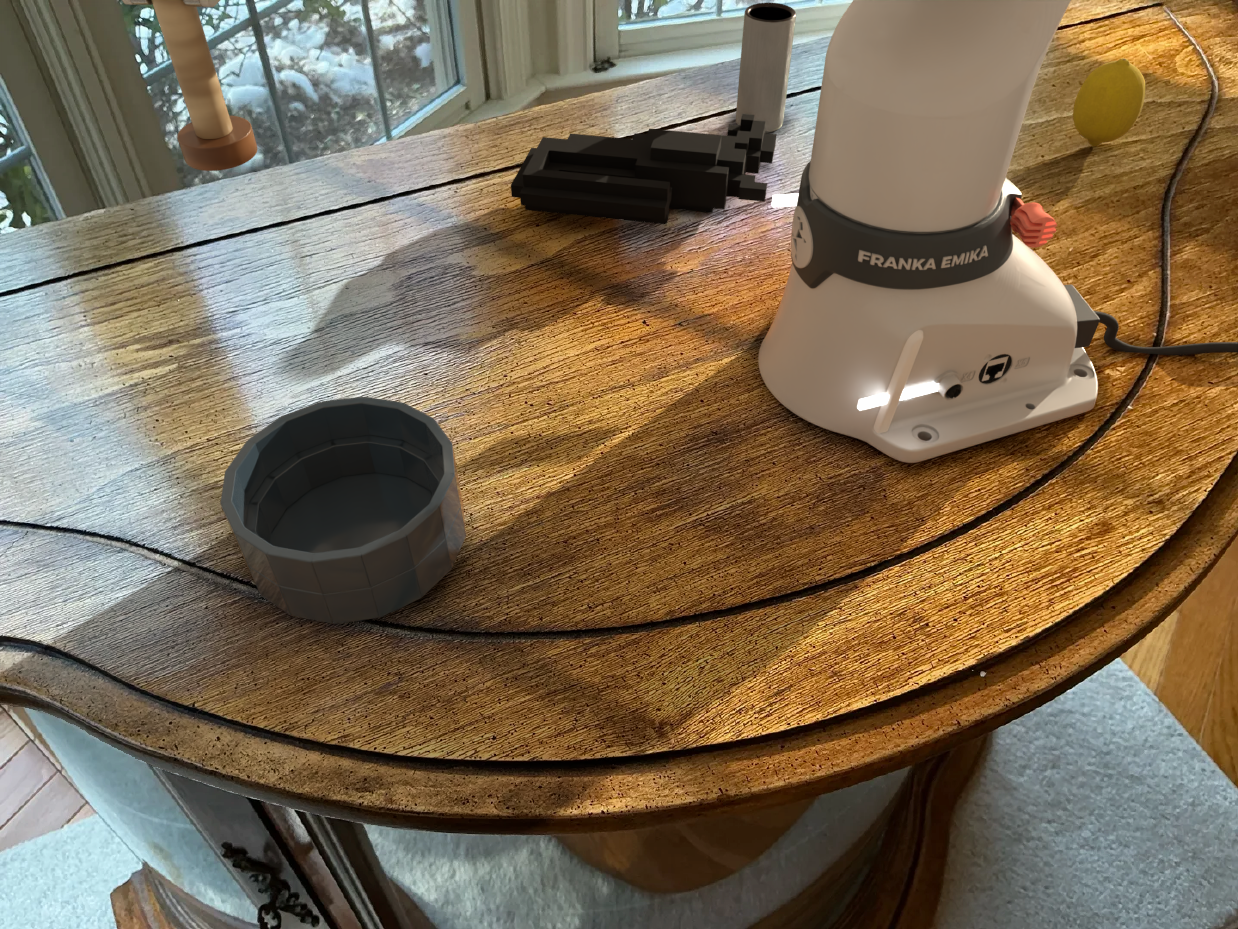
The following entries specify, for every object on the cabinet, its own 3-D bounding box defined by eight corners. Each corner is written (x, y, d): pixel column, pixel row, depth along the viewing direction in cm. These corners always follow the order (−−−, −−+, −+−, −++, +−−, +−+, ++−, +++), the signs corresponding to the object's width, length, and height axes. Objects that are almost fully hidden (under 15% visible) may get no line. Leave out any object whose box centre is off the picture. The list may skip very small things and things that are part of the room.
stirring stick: (246, 131, 64) (150, -199, 51) (266, 159, 61) (171, -181, 48) (177, 148, 62) (60, -188, 49) (194, 178, 59) (76, -169, 47)
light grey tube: (790, 118, 95) (804, 8, 87) (770, 137, 92) (782, 25, 85) (748, 107, 96) (758, -2, 89) (727, 126, 94) (735, 14, 86)
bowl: (460, 458, 62) (448, 386, 58) (473, 614, 54) (460, 542, 49) (261, 483, 61) (234, 410, 56) (242, 646, 52) (208, 576, 48)
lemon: (1049, 136, 92) (1077, 50, 86) (1100, 127, 93) (1130, 42, 87) (1086, 164, 88) (1118, 76, 83) (1138, 154, 89) (1173, 67, 84)
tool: (551, 85, 88) (504, 167, 77) (780, 104, 85) (763, 192, 75) (554, 141, 92) (510, 226, 81) (773, 162, 89) (756, 253, 78)
